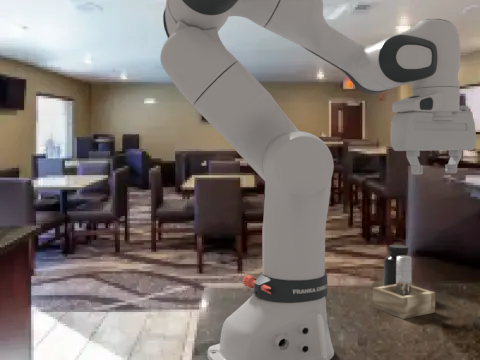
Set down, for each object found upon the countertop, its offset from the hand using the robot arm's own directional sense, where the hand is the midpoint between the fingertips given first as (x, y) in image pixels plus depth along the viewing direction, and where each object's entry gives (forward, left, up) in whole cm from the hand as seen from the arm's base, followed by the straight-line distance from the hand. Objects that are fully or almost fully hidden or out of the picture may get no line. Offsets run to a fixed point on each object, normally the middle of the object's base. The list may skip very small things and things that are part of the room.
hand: (434, 173), depth 104 cm
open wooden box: (+3, +11, -31) cm, 33 cm away
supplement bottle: (+11, +21, -31) cm, 40 cm away
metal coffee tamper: (+3, +11, -30) cm, 32 cm away
